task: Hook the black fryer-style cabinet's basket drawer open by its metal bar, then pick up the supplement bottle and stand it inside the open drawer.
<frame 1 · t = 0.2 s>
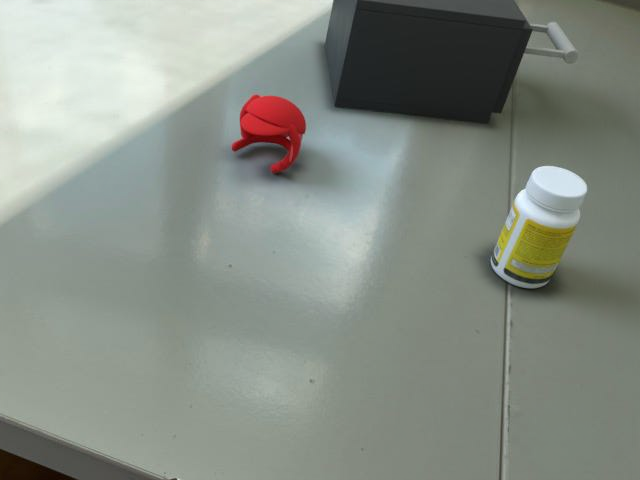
drawer: (464, 40, 80), point 5 cm above the table, slide at 0.0 cm
supplement bottle: (518, 271, 62), on the table
red domed clip: (264, 161, 69), on the table
cabinet: (401, 82, 83), on the table
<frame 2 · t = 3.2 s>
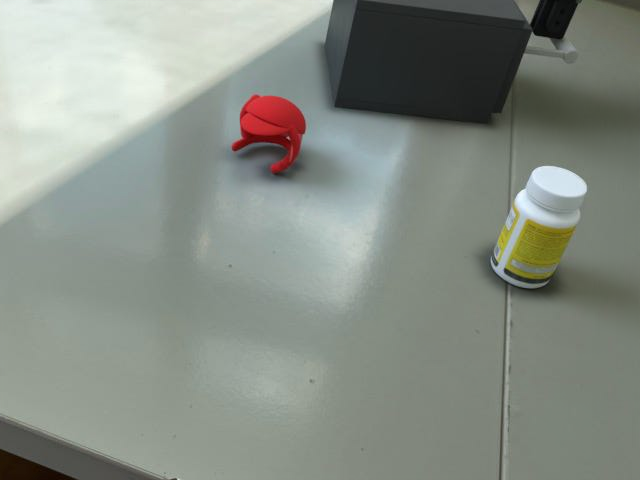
hand: (545, 33, 80), 7 cm above the table, tool pointing down, fingers closed
drawer: (464, 40, 80), point 5 cm above the table, slide at 0.0 cm, touching cabinet, gripper
everything else where it was.
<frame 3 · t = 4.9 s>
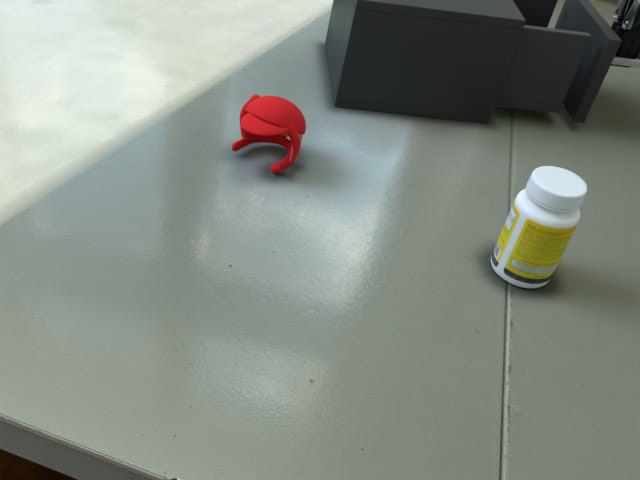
hand: (614, 62, 82), 5 cm above the table, tool pointing down, fingers closed
drawer: (545, 50, 81), point 5 cm above the table, slide at 8.7 cm
everything else where it was.
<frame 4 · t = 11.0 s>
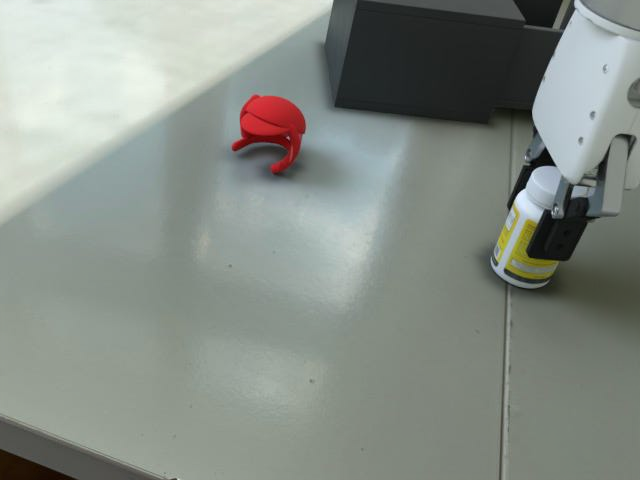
hand: (536, 231, 59), 4 cm above the table, tool pointing down, fingers closed on supplement bottle, 4 cm apart
drawer: (550, 51, 81), point 5 cm above the table, slide at 9.3 cm
supplement bottle: (518, 271, 62), on the table, touching gripper
everything else where it was.
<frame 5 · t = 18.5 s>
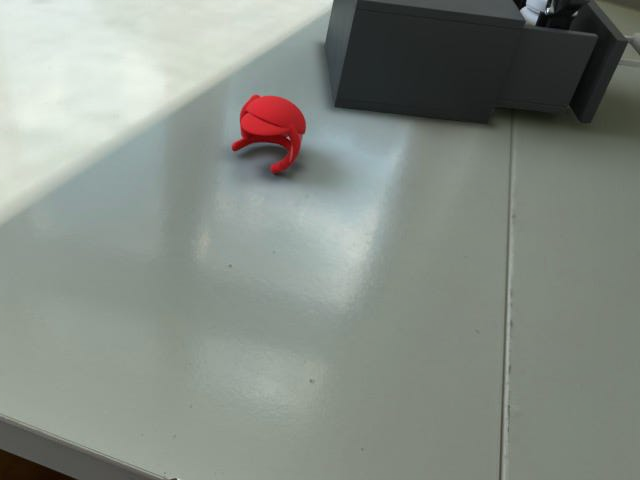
hand: (535, 39, 80), 6 cm above the table, tool pointing down, fingers closed on supplement bottle, 4 cm apart
supplement bottle: (521, 75, 83), point 2 cm above the table, touching gripper
everything else where it was.
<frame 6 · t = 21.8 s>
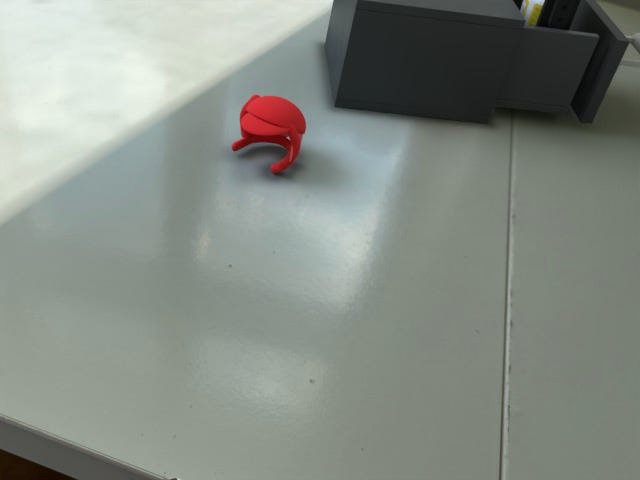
hand: (542, 20, 79), 8 cm above the table, tool pointing down, fingers closed on supplement bottle, 4 cm apart
supplement bottle: (528, 57, 81), point 4 cm above the table, touching gripper
everything else where it was.
when the fingers open (10 cm above the table, at t = 32.6 s): supplement bottle drops 4 cm, resting on drawer.
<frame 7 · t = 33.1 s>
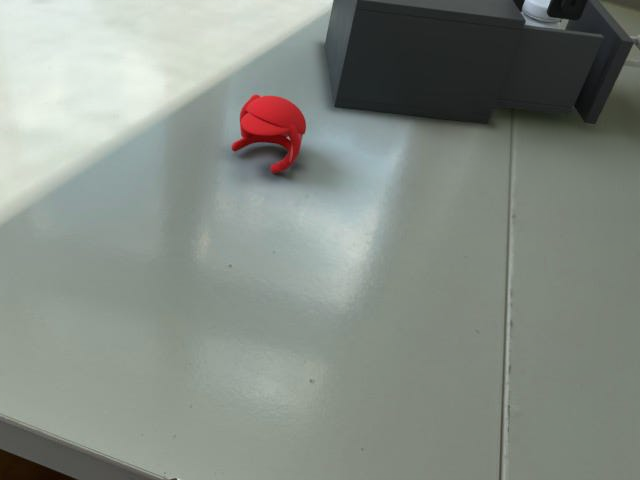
drawer: (557, 52, 81), point 5 cm above the table, slide at 10.0 cm, touching supplement bottle
supplement bottle: (517, 80, 83), point 2 cm above the table, touching drawer
everything else where it was.
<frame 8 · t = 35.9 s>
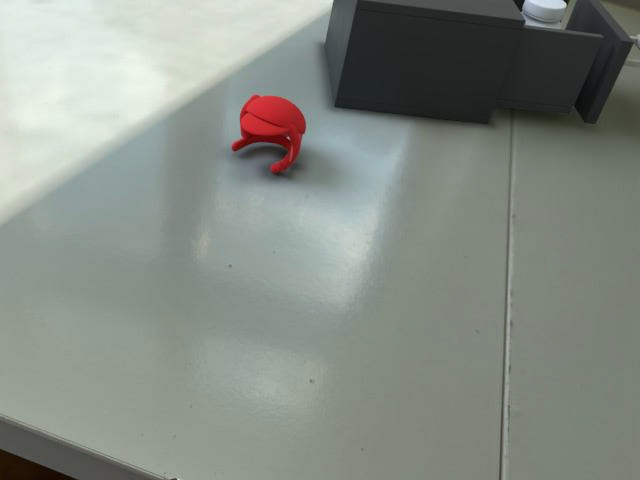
nothing on the table moved.
at the end: drawer slide at 10.0 cm; supplement bottle inside the target area in the drawer (1.0 cm from its centre), point 1.9 cm above the cabinet's base; supplement bottle tilted 0° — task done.
